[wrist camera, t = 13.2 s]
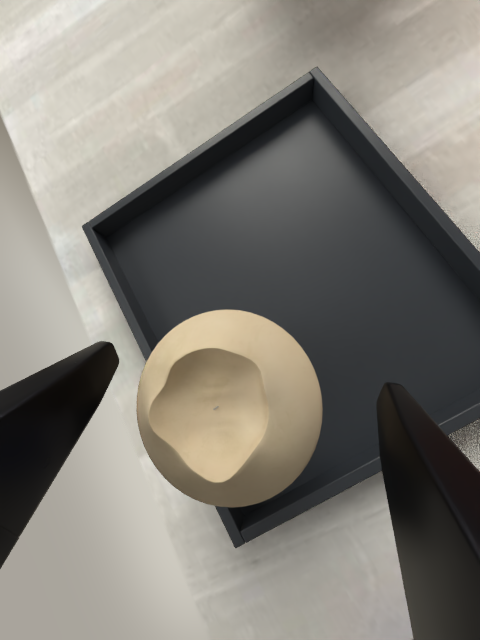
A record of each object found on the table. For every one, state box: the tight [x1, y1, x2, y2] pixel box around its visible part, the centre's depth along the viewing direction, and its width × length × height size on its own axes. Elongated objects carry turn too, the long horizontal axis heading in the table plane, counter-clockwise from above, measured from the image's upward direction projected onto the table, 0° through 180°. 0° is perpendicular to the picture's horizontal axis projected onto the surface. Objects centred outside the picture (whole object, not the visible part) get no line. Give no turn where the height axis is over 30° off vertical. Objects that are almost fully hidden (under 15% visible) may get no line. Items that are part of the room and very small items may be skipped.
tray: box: [82, 67, 480, 548], centre depth 16 cm, size 18×21×2 cm
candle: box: [137, 310, 323, 507], centre depth 11 cm, size 6×6×10 cm
